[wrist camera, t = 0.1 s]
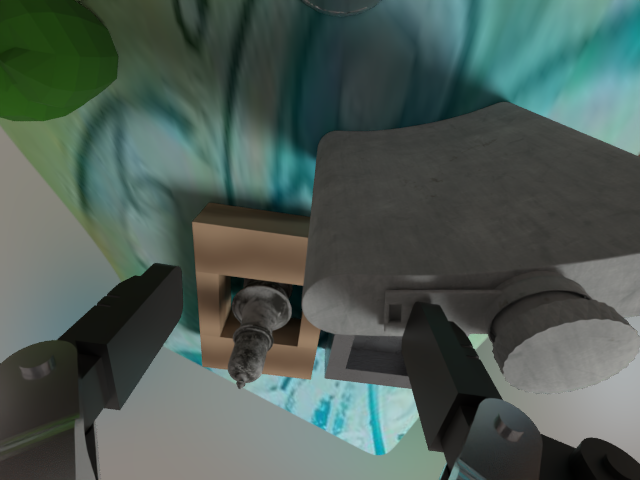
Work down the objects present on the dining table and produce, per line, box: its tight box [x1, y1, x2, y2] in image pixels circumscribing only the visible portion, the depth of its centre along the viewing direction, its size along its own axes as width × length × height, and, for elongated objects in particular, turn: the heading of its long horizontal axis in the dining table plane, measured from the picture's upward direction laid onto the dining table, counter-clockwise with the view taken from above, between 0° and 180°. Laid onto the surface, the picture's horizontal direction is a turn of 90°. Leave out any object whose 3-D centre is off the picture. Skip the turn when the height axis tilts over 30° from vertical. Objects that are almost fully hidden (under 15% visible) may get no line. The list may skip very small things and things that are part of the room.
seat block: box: [325, 333, 469, 389], centre depth 33 cm, size 13×13×4 cm
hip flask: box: [301, 102, 640, 394], centre depth 17 cm, size 16×4×20 cm, turn 100°
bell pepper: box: [0, 0, 118, 121], centre depth 18 cm, size 8×8×10 cm
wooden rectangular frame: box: [192, 203, 321, 380], centre depth 31 cm, size 18×12×4 cm, turn 172°
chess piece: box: [228, 278, 292, 389], centre depth 28 cm, size 6×6×12 cm
